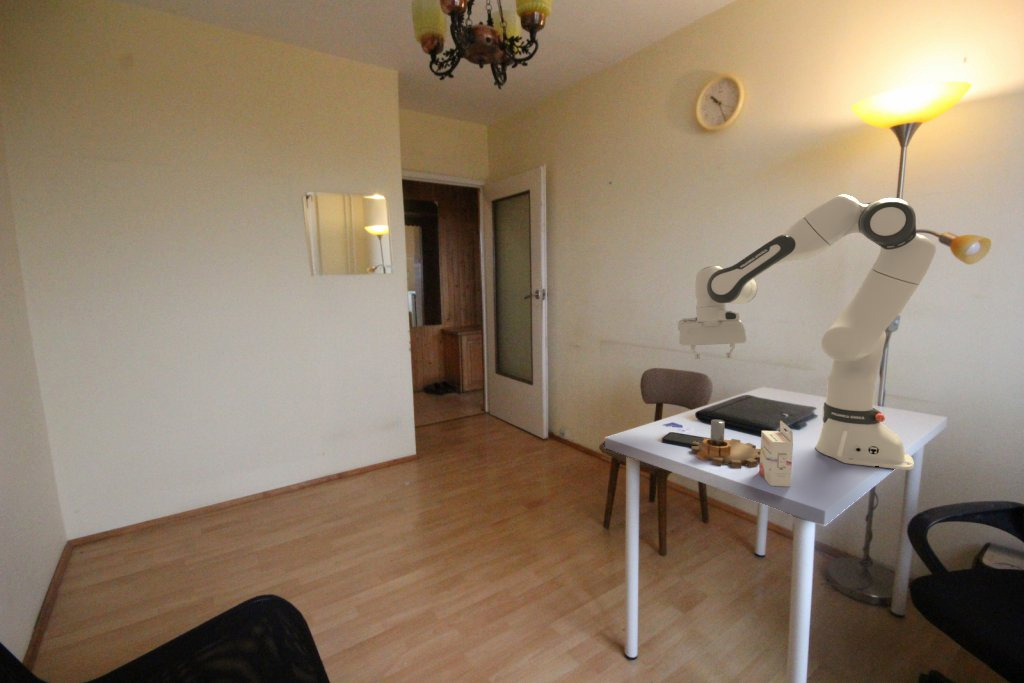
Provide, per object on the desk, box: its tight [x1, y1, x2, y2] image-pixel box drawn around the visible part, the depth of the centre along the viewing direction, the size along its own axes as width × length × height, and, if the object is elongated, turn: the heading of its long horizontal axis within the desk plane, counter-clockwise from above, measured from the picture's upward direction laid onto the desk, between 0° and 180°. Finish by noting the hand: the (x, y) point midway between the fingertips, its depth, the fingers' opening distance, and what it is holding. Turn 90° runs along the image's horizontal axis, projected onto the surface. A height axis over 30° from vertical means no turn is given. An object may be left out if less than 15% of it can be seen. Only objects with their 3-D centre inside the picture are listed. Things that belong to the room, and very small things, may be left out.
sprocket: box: [690, 437, 761, 469], centre depth 136 cm, size 20×20×4 cm
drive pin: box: [709, 419, 726, 447], centre depth 134 cm, size 4×4×9 cm
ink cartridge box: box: [758, 420, 794, 487], centre depth 118 cm, size 9×5×15 cm, turn 170°
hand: (713, 358), depth 151 cm, fingers open, 8 cm apart
